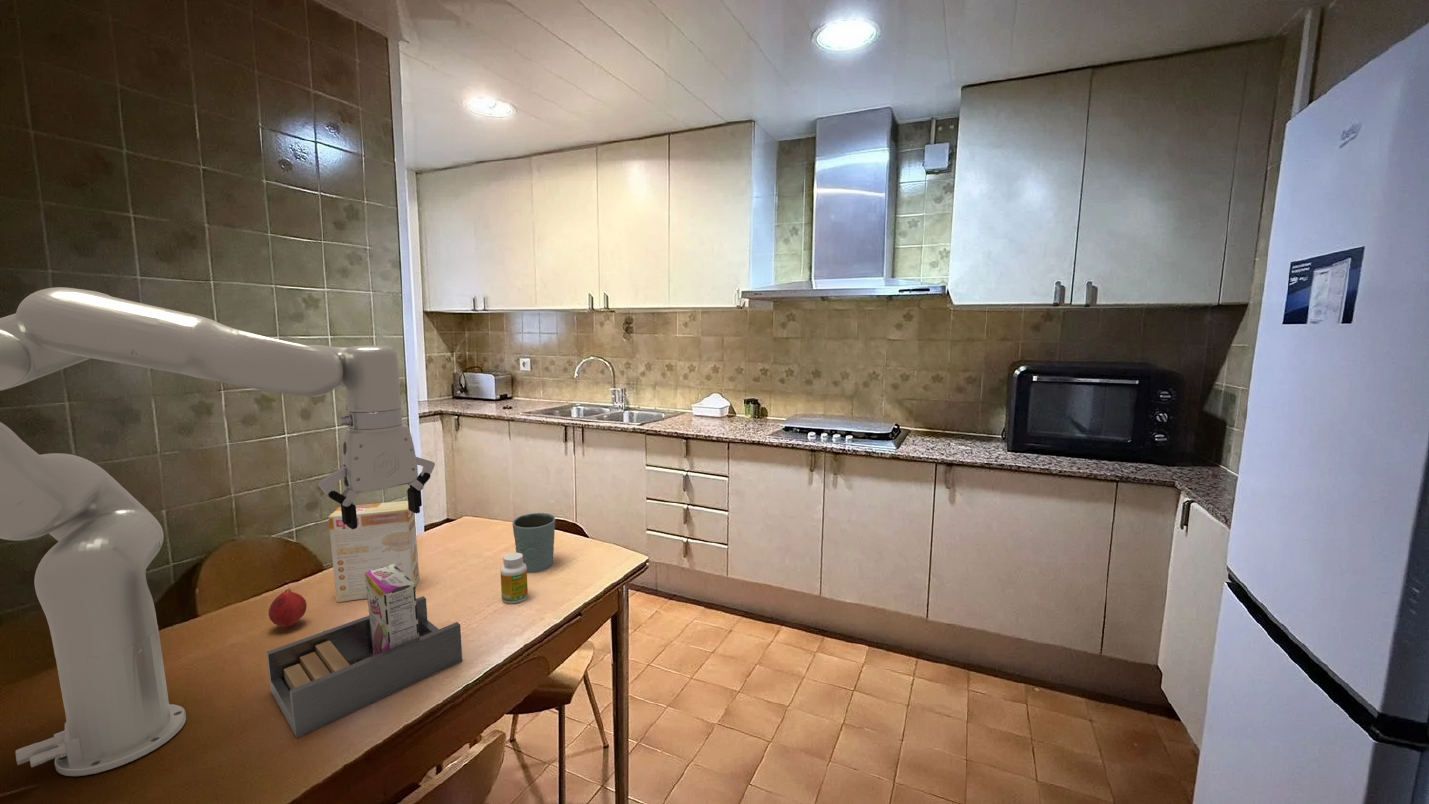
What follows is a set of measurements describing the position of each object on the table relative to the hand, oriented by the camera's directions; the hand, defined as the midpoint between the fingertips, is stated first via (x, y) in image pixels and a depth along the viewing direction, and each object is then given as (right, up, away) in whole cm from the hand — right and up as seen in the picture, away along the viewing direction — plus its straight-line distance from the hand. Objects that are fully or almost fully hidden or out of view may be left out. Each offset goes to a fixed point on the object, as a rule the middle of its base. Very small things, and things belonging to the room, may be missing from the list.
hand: (384, 519), depth 92 cm
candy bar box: (0, -27, +3) cm, 27 cm away
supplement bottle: (+12, -23, +27) cm, 38 cm away
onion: (-28, -25, +15) cm, 40 cm away
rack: (-2, -27, 0) cm, 27 cm away
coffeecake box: (-19, -23, +29) cm, 42 cm away
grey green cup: (+12, -21, +43) cm, 49 cm away
